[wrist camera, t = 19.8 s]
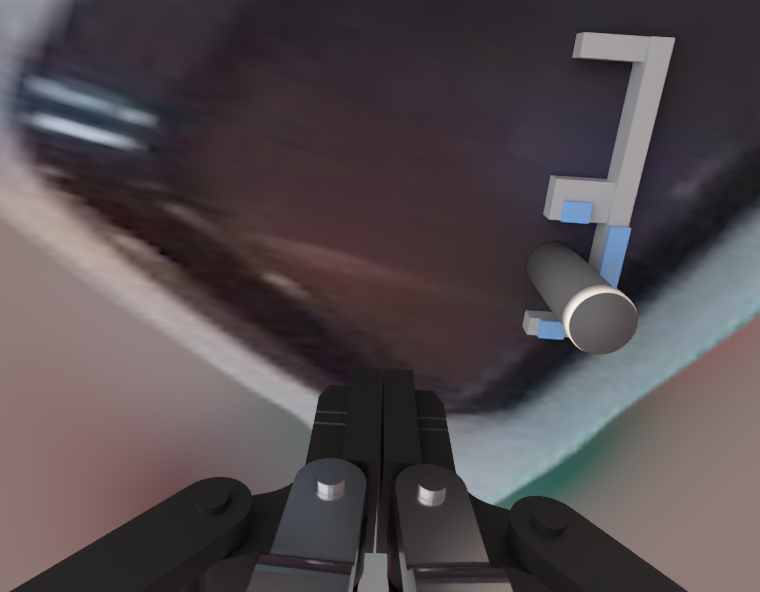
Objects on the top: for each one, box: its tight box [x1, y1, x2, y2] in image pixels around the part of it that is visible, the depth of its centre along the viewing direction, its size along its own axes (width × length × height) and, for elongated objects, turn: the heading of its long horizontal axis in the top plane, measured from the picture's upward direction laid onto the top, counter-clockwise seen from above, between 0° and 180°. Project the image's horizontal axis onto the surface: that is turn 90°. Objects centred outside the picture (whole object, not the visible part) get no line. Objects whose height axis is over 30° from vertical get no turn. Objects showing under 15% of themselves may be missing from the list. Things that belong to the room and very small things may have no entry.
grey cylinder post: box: [526, 242, 638, 354], centre depth 38 cm, size 4×4×11 cm
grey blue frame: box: [523, 32, 675, 340], centre depth 39 cm, size 22×6×2 cm, turn 176°
